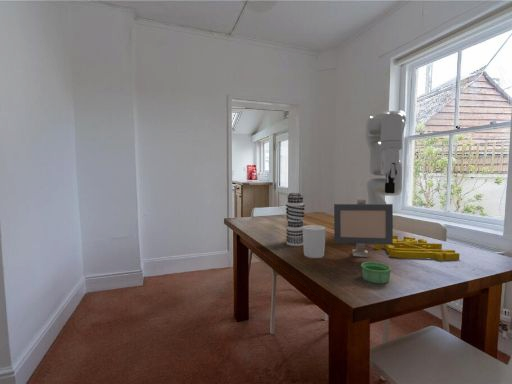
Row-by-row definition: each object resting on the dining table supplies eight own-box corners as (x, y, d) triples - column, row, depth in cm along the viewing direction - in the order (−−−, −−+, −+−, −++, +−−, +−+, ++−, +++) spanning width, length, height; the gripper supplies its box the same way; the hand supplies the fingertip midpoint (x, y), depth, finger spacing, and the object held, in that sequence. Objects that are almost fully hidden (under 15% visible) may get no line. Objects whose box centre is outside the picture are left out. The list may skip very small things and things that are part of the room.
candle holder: (300, 257, 110) (300, 228, 110) (304, 250, 120) (304, 224, 119) (324, 259, 107) (324, 230, 106) (326, 253, 116) (327, 225, 115)
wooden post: (352, 253, 116) (353, 199, 114) (367, 254, 114) (368, 199, 113) (353, 256, 112) (354, 200, 110) (368, 257, 110) (370, 200, 108)
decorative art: (365, 233, 142) (428, 236, 136) (365, 239, 142) (428, 241, 136) (382, 252, 109) (465, 256, 103) (382, 258, 109) (465, 263, 103)
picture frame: (334, 241, 113) (334, 204, 112) (391, 243, 107) (391, 204, 106) (334, 242, 111) (334, 204, 110) (392, 244, 106) (392, 204, 105)
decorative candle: (303, 246, 127) (303, 194, 125) (283, 245, 130) (283, 193, 128) (305, 242, 135) (306, 192, 133) (287, 240, 138) (287, 192, 136)
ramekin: (391, 286, 82) (392, 272, 81) (360, 282, 85) (360, 268, 85) (390, 276, 90) (390, 263, 90) (361, 272, 93) (361, 260, 93)
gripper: (377, 147, 112) (376, 191, 114) (384, 144, 98) (382, 194, 100) (397, 147, 110) (395, 191, 112) (407, 144, 96) (405, 194, 98)
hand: (389, 192), depth 106 cm, fingers closed
